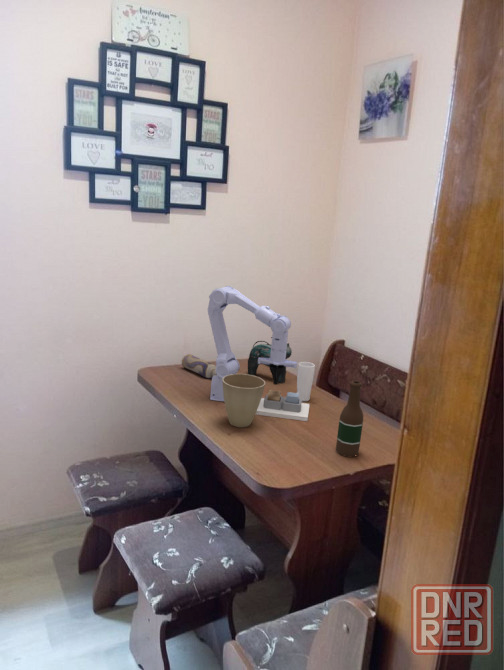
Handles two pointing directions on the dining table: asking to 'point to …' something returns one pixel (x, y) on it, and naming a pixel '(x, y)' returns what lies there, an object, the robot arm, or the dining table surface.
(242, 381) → the plant pot
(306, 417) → the key panel
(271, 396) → the key oak
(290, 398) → the key slate
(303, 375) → the drinking glass
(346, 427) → the beer bottle
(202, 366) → the decorative bottle
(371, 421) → the dining table surface
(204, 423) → the dining table surface
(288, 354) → the ceramic cat
